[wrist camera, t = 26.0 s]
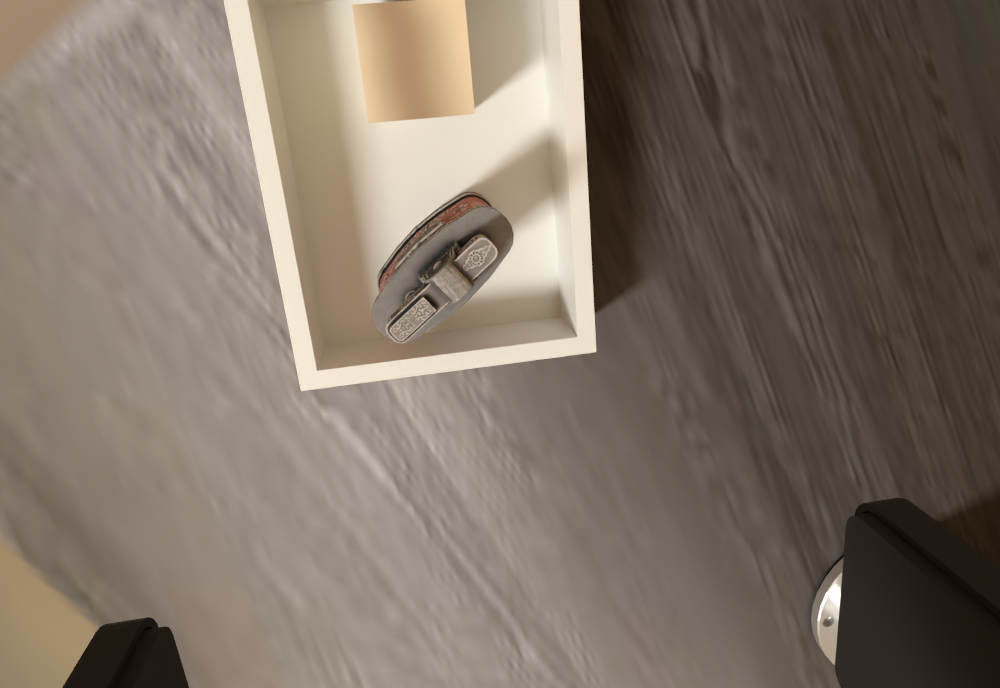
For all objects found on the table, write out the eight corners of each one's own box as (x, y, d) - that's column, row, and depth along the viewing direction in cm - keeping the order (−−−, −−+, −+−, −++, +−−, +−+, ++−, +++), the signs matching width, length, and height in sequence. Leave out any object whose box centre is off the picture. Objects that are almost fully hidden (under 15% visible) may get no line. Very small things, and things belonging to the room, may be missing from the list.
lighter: (467, 177, 38) (487, 195, 29) (507, 221, 39) (539, 253, 30) (363, 275, 39) (350, 324, 30) (405, 317, 40) (406, 376, 31)
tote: (553, -36, 36) (576, -59, 32) (575, 326, 43) (596, 351, 38) (242, -12, 35) (217, -33, 30) (313, 360, 41) (301, 390, 36)
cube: (456, 13, 36) (464, -3, 31) (465, 114, 37) (474, 113, 32) (359, 20, 35) (352, 4, 30) (372, 122, 37) (368, 123, 32)
